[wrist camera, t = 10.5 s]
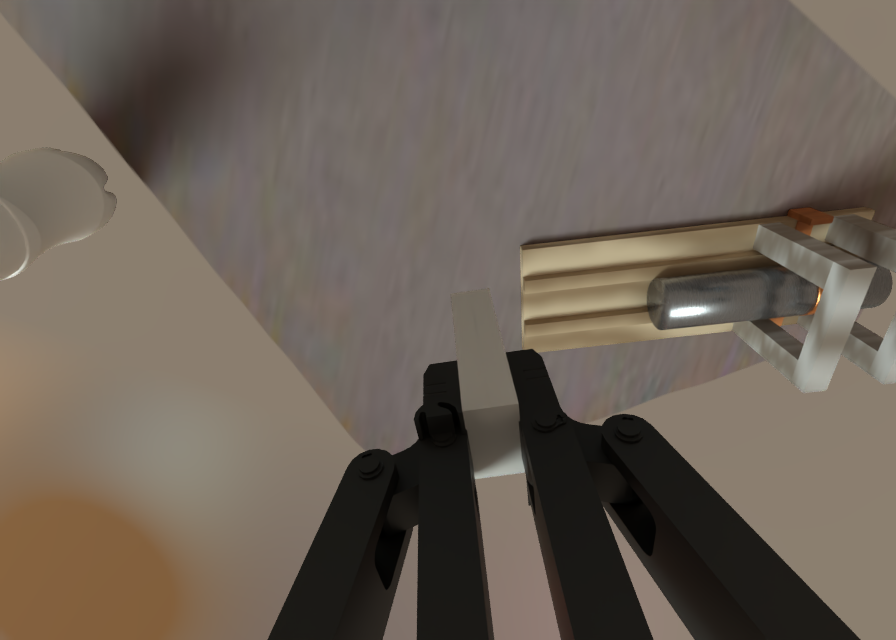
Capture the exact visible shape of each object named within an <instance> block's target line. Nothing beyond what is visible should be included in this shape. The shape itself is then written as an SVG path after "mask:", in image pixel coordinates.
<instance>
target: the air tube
mask: <svg viewBox="0 0 896 640" xmlns="http://www.w3.org/2000/svg"><path fill="white" fill-rule="evenodd" d="M856 258H859V259H861V260H863V261H865V262H867V263H869V264H872V265H874V266H876V267H877V269H876V271H875V274H874V276H873V278H872V281H871V283H870V286H869V288H868V290H867V293H866V295H865V298H864V300H863V303H862V305H861V307H860V309H864V308H872V307H876V306H879V305H881V304H882V303H883V302H884V301H885V300H886V299H887V298H888V296H889V295H890V292H891V289H892V276H891V273H890V270H889V269H886V268H884V267H882V266H880V265H878V264H875V263H873V262H871V261H869V260H867V259H864V258H862V257H860V256H859V257H856ZM822 292H823V289H822V288H820V287H819V286H817V285H815V284H814V283H812V282H810V281H808V280H807V279H805V278H803V277H801V276H800V275H798V274H796V273H794V272H793V271H791V270H789V269H788V268H786V267H784V266H782V265H776V266H767V267H757V268H748V269H739V270H730V271H721V272H711V273H702V274H693V275H684V276H675V277H665V278H656V279H653V280H652V281H651V282H650V284H649V287H648V291H647V309H648V313H649V317H650V319H651V321H652V323H653V325H654V326H655V327H656V328H657V329H658V330H668V329H678V328H687V327H696V326H706V325H715V324H724V323H734V322H743V321H752V320H762V319H771V318H780V317H789V316H804V315H813V314H815V312H816V309H817V306H818V303H819V301H820V298H821V295H822Z"/></svg>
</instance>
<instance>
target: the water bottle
mask: <svg viewBox="0 0 896 640" xmlns="http://www.w3.org/2000/svg"><path fill="white" fill-rule="evenodd" d="M107 179H108V176H107V175H106V173H105V171H104V170H103V168H101V167H100V166H99V165H98V164H97V163H96V162H94V161H93V160H91V159H89V158H87V157H85V156H82V155H79V154H75V153H71V152H63V151H61V150H57V149H52V148H37V149H32V150H26V151H22V152H18V153H14V154H12V155H10V156H8V157H7V158H5V159H4V160H3V161H1V162H0V281H1V280H3V279H8V278H11V277H13V276H15V275H17V274H19V273H21V272H23V271H24V270H25V269H27V268H28V267H29V266H30V265H31V264H32V263H33V262H34V261H35V260H36V259H37V258H38V257H39V256H40V255H41V254H43V253H44V252H45V251H47V250H48V249H50V248H53V247H55V246H57V245H61V244H64V243H69V242H74V241H79V240H82V239H84V238H86V237H88V236H90V235H92V234H94V233H96V232H97V231H99V230H100V229H101V228H103V227H104V226H105V225H106V224H107V223H108V222H109V220H110V219H111V217H112V215H113V213H114V211H115V208H116V203H117V199H116V196H115V195H114V194H113V193H110V192H107V191H105V190H104V185H105V184H106V182H107Z"/></svg>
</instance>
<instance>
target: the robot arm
mask: <svg viewBox="0 0 896 640" xmlns="http://www.w3.org/2000/svg"><path fill="white" fill-rule="evenodd" d="M451 303H452V313H453V323H454V333H455V343H456V353H457V361H450V362H443V363H436V364H430V365H429V366H428V368H427V370H426V372H425V373H424V383H423V386H424V388H423V395H424V396H423V405H422V406H421V407H420V408H419V409H418V411H417V412H416V414H415V417H414V422H415V426H416V430H417V433H418V437H419V439H418V440H417V442H416V443H415V444H413V445H412V446H411V447H410V448H408V449H406V450H404V451H402V452H399V453H397V454H394V455H391V454H390V453H389V452H387V451H385V450H381V449H373V450H368V451H365V452H363V453H361V454H359V455H358V456H357V457H355V458H354V459H353V460H352V461H351V463H350V464H349V465H348V467H347V469H346V471H345V473H344V476H343V478H342V480H341V482H340V484H339V486H338V489H337V491H336V493H335V495H334V497H333V500H332V502H331V504H330V506H329V508H328V511H327V512H326V515H325V517H324V519H323V521H322V524H321V525H320V527H319V530H318V532H317V534H316V536H315V538H314V540H313V543H312V545H311V547H310V549H309V551H308V553H307V556H306V558H305V560H304V562H303V564H302V566H301V569H300V571H299V573H298V575H297V577H296V579H295V581H294V584H293V586H292V588H291V590H290V592H289V594H288V597H287V599H286V601H285V603H284V606H283V607H282V610H281V612H280V614H279V616H278V618H277V620H276V623H275V625H274V627H273V629H272V631H271V633H270V636H269V638H268V640H383V636H384V632H385V629H386V625H387V621H388V618H389V614H390V610H391V607H392V603H393V599H394V596H395V593H396V589H397V585H398V581H399V578H400V575H401V571H402V567H403V564H404V560H405V556H406V553H407V549H408V546H409V542H410V538H411V535H412V531H413V527H414V526H416V525H418V590H417V592H418V593H417V640H494V633H493V625H492V617H491V608H490V599H489V591H488V582H487V574H486V565H485V557H484V548H483V539H482V531H481V523H480V514H479V505H478V497H477V491H476V485H475V479H478V478H486V477H494V476H502V475H509V474H517V473H524V472H525V473H526V479H527V491H528V503H529V505H531V507H532V512H533V516H534V521H535V525H536V530H537V534H538V538H539V543H540V547H541V552H542V556H543V561H544V565H545V570H546V574H547V579H548V583H549V588H550V592H551V597H552V601H553V606H554V610H555V615H556V619H557V623H558V628H559V632H560V637H561V640H653V637H652V635H651V632H650V629H649V627H648V624H647V621H646V619H645V616H644V614H643V611H642V608H641V606H640V603H639V600H638V598H637V595H636V592H635V590H634V587H633V585H632V582H631V579H630V577H629V574H628V571H627V569H626V566H625V563H624V561H623V558H622V556H621V553H620V550H619V548H618V545H617V542H616V540H615V537H614V534H613V532H612V529H611V526H610V524H609V521H608V519H607V516H606V513H605V511H604V508H605V510H606V511H607V512H608V514H609V515H610V517H611V518H612V520H613V521H614V523H615V524H616V526H617V527H618V529H619V530H620V531H621V533H622V534H623V536H624V537H625V539H626V540H627V542H628V543H629V545H630V546H631V547H632V549H633V550H634V552H635V553H636V554H637V556H638V558H639V559H640V560H641V562H642V563H643V565H644V566H645V568H646V569H647V571H648V572H649V574H650V575H651V577H652V578H653V579H654V581H655V582H656V584H657V585H658V587H659V588H660V590H661V591H662V593H663V594H664V596H665V597H666V598H667V600H668V601H669V603H670V604H671V606H672V607H673V609H674V610H675V612H676V613H677V615H678V616H679V618H680V619H681V620H682V622H683V623H684V625H685V626H686V628H687V629H688V631H689V632H690V634H691V635H692V636H693V638H694V639H695V640H860V639H859V638H858V637H857V636H856V635H855V633H854V632H852V630H851V629H850V628H849V627H848V626H847V625H846V624H845V623H844V622H843V621H842V620H841V619H840V618H839V617H838V616H837V615H836V614H835V613H834V612H833V611H832V610H831V609H830V608H829V607H828V606H827V605H826V604H825V603H824V602H823V601H822V600H821V599H820V598H819V597H818V596H817V594H816V593H815V592H814V591H813V590H811V588H810V587H809V586H808V585H807V584H806V583H805V582H804V581H803V580H802V579H801V578H800V577H799V576H798V575H797V574H796V573H795V572H794V571H793V570H792V569H791V568H790V567H789V566H788V565H787V564H786V563H785V562H784V561H783V560H782V559H781V558H780V557H779V555H778V554H777V553H775V551H773V549H772V548H771V547H770V546H769V545H768V544H767V543H766V542H765V541H764V540H763V539H762V538H761V537H760V536H759V535H758V534H757V533H756V532H755V531H754V530H753V529H752V528H751V527H750V526H749V525H748V524H747V523H746V522H745V521H744V520H743V519H742V517H740V516H739V514H738V513H737V512H736V511H735V510H734V509H733V508H732V507H731V506H730V505H729V504H728V503H727V502H726V501H725V500H724V499H723V498H722V497H721V496H720V495H719V494H718V493H717V492H716V491H715V490H714V489H713V488H712V487H711V486H710V485H709V484H708V483H707V482H706V481H705V480H704V479H703V477H702V476H701V475H700V474H699V473H698V472H697V471H696V470H695V469H694V468H693V467H692V466H691V465H690V464H689V463H688V462H687V461H686V460H685V459H684V458H683V457H682V456H681V455H680V454H679V453H678V452H677V451H676V450H675V449H674V448H673V447H672V446H671V445H670V444H669V443H668V442H667V440H666V439H665V438H663V436H662V435H661V434H660V433H659V432H658V431H657V430H656V429H655V428H654V427H653V426H652V425H651V424H649V423H648V422H647V421H646V420H644V419H643V418H640V417H637V416H635V415H628V414H620V415H614V416H612V417H610V418H608V419H606V421H605V422H604V423H603V425H602V426H598V425H589V424H584V423H580V422H577V421H574V420H572V419H571V418H569V417H568V416H567V415H566V413H564V412H563V411H562V409H561V407H560V405H559V402H558V399H557V397H556V394H555V391H554V389H553V386H552V383H551V380H550V378H549V375H548V372H547V370H546V367H545V364H544V361H543V359H542V357H541V356H540V355H539V354H538V353H537V352H536V351H534V350H533V349H527V350H520V351H513V352H506V353H505V349H504V345H503V341H502V337H501V333H500V329H499V325H498V322H497V318H496V314H495V310H494V306H493V302H492V298H491V294H490V290H489V288H487V289H481V290H474V291H467V292H461V293H454V294H451ZM524 469H525V471H524ZM603 507H604V508H603Z"/></svg>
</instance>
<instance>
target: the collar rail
mask: <svg viewBox="0 0 896 640" xmlns="http://www.w3.org/2000/svg"><path fill="white" fill-rule="evenodd" d="M874 213H875V210H872V209H869V208H866V207H860V208H851V209H842V210H833V211H824V212H821V211H818V210H815V209H813V208H810V207H808V208H799V209H790V210H789V211H788V214H787V216H780V217H771V218H762V219H753V220H744V221H735V222H727V223H718V224H709V225H700V226H691V227H682V228H673V229H664V230H655V231H646V232H638V233H629V234H620V235H611V236H602V237H593V238H584V239H575V240H566V241H558V242H549V243H540V244H531V245H522V246H520V261H521V311H522V348H523V350H527V349H533V350H534V351H536V352H545V351H554V350H564V349H573V348H582V347H591V346H600V345H609V344H618V343H627V342H636V341H645V340H654V339H663V338H672V337H681V336H690V335H699V334H708V333H717V332H726V331H733V332H734V333H736V334H737V335H738V336H739V337H740V338H741V339H742V340H744V341H745V342H746V343H747V344H748V345H749V346H750V347H752V348H753V349H754V350H755V351H756V352H757V353H758V354H760V355H761V356H762V357H763V358H764V359H765V360H766V361H768V362H769V363H770V364H771V365H772V366H773V367H774V368H775V369H777V370H778V371H779V372H780V373H781V374H782V375H783V376H785V377H786V378H787V379H788V380H789V381H790V382H791V383H793V384H794V385H795V386H796V387H797V388H798V389H800V391H802V392H803V393H808V392H817V391H826V390H827V387H828V385H829V382H830V380H831V378H832V375H833V373H834V370H835V368H836V366H837V363H838V361H839V358H840V356H841V355H843V356H844V357H845V358H847V359H848V360H850V361H851V362H853V363H854V364H855V365H857V366H858V367H860V368H861V369H863V370H864V371H865V372H867V373H868V374H869V375H871V376H872V377H874V378H875V379H877V380H878V381H879V382H881V383H882V384H890V383H896V313H895V315H894V317H893V320H892V322H891V324H890V326H889V328H888V330H887V333H886V335H885V337H884V339H883V338H882V337H880V336H878V335H877V334H875V333H873V332H872V331H870V330H868V329H867V328H865V327H864V326H862V325H860V324H859V323H857V322H855V320H856V317H857V315H858V312H859V310H860V307H861V305H862V303H863V300H864V298H865V295H866V293H867V290H868V288H869V286H870V283H871V281H872V278H873V276H874V274H875V271H876V269H877V267H876V266H874V265H872V264H869V263H867V262H865V261H863V260H861V259H859V258H856V257H859V256H860V257H862V258H864V259H867V260H869V261H871V262H873V263H875V264H878V265H880V266H882V267H884V268H886V269H889V270H891V271H893V272H896V229H894V228H891V227H888V226H886V225H883V224H880V223H877V222H874V221H872V218H873V215H874ZM776 265H782V266H784V267H786V268H788V269H789V270H791V271H793V272H794V273H796V274H798V275H800V276H801V277H803V278H805V279H807V280H808V281H810V282H812V283H814V284H815V285H817V286H819V287H820V288H822V289H823V292H822V295H821V298H820V301H819V303H818V306H817V309H816V312H815V314H813V315H804V316H789V317H780V318H771V319H762V320H752V321H743V322H734V323H724V324H715V325H706V326H696V327H687V328H678V329H668V330H658V329H657V328H656V327H655V326H654V325H653V323H652V321H651V319H650V317H649V313H648V309H647V291H648V287H649V284H650V282H651V281H652V280H653V279H656V278H665V277H675V276H684V275H693V274H702V273H711V272H721V271H730V270H739V269H748V268H757V267H767V266H776ZM790 324H799V325H800V326H802V327H803V328H804V329H806V330H807V331H808V334H807V337H806V340H805V343H804V345H803V344H802V343H801V342H799V341H798V340H797V339H795V338H794V337H793V336H791V335H790V334H789V333H787V332H786V331H785V330H783V329H782V328H781V327H779V326H781V325H790Z"/></svg>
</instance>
